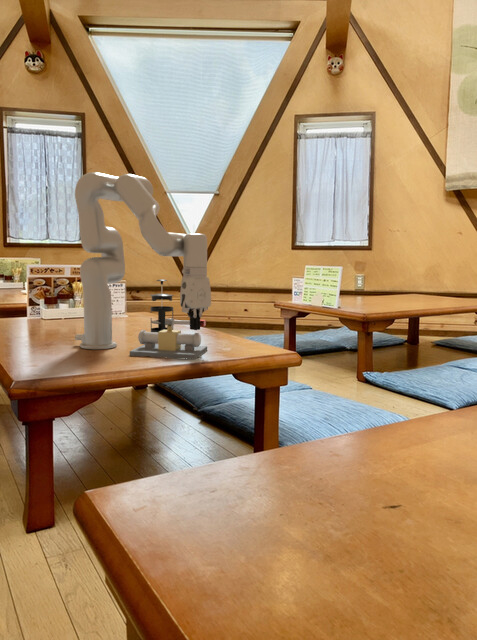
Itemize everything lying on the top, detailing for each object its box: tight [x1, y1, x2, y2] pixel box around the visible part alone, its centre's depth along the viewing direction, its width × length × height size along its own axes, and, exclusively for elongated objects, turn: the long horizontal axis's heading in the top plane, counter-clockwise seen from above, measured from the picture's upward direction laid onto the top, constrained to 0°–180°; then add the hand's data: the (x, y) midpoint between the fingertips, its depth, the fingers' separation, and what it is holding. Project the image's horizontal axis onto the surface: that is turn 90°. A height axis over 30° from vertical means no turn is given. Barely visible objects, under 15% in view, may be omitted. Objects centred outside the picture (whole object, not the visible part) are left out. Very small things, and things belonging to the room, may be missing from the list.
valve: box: [129, 325, 208, 360], centre depth 177 cm, size 22×16×9 cm
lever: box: [165, 317, 207, 328], centre depth 176 cm, size 14×3×2 cm, turn 82°
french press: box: [150, 279, 174, 333], centre depth 209 cm, size 12×9×23 cm
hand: (195, 329), depth 171 cm, fingers closed
